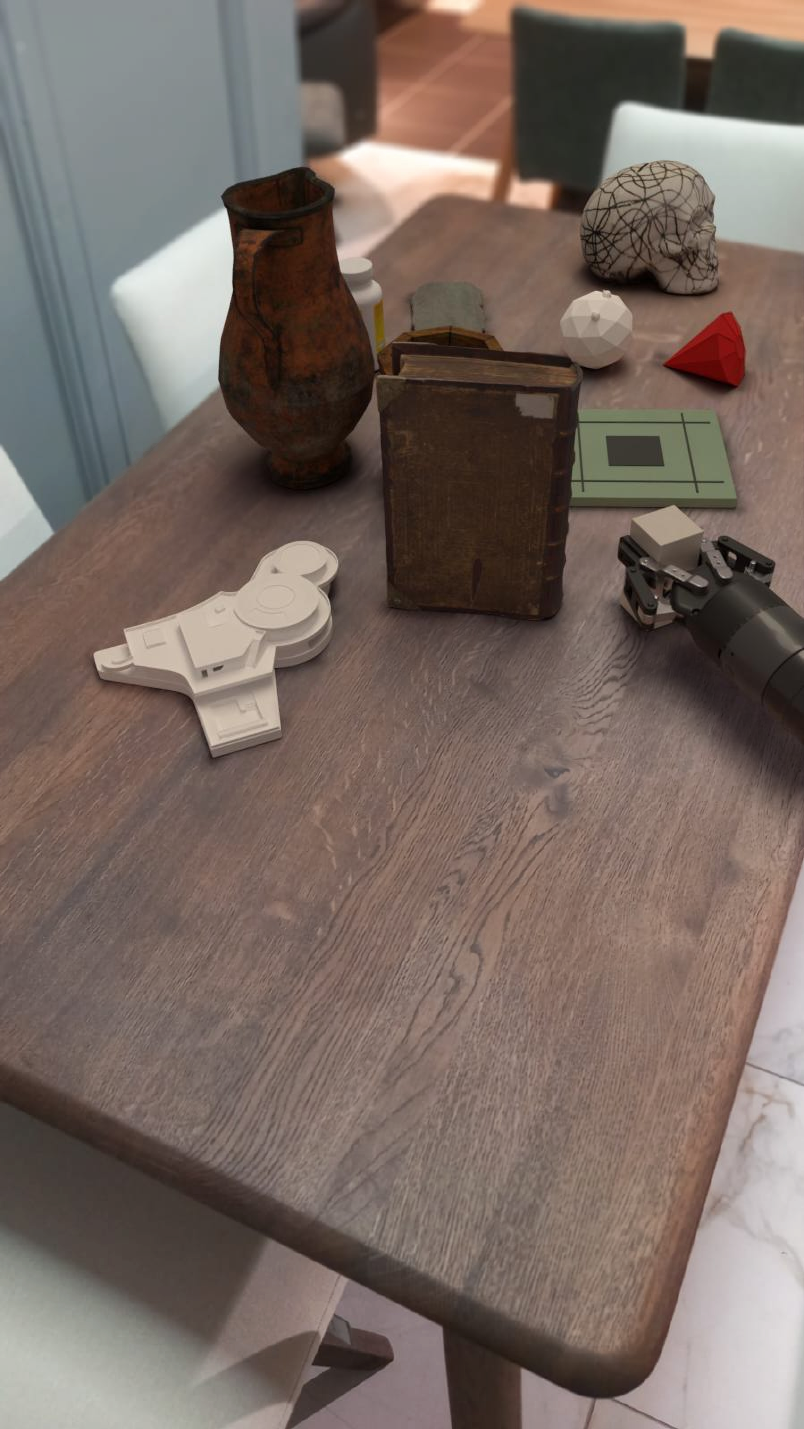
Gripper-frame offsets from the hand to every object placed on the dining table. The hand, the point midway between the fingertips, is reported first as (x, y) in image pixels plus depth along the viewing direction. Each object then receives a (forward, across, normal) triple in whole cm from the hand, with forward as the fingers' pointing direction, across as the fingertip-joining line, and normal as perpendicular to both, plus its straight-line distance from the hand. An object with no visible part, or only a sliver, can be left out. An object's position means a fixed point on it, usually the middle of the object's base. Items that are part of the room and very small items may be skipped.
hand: (646, 536), depth 102 cm
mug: (+24, +6, +7) cm, 26 cm away
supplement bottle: (+55, +6, +7) cm, 56 cm away
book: (+6, +14, +7) cm, 17 cm away
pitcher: (+35, +21, +7) cm, 42 cm away
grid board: (+20, -13, +7) cm, 25 cm away
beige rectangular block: (-3, 0, +7) cm, 7 cm away
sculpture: (+59, -40, +7) cm, 71 cm away
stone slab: (+58, -8, +7) cm, 59 cm away
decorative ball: (+40, -22, +7) cm, 46 cm away
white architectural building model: (+9, +38, +7) cm, 40 cm away
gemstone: (+32, -30, +7) cm, 45 cm away
